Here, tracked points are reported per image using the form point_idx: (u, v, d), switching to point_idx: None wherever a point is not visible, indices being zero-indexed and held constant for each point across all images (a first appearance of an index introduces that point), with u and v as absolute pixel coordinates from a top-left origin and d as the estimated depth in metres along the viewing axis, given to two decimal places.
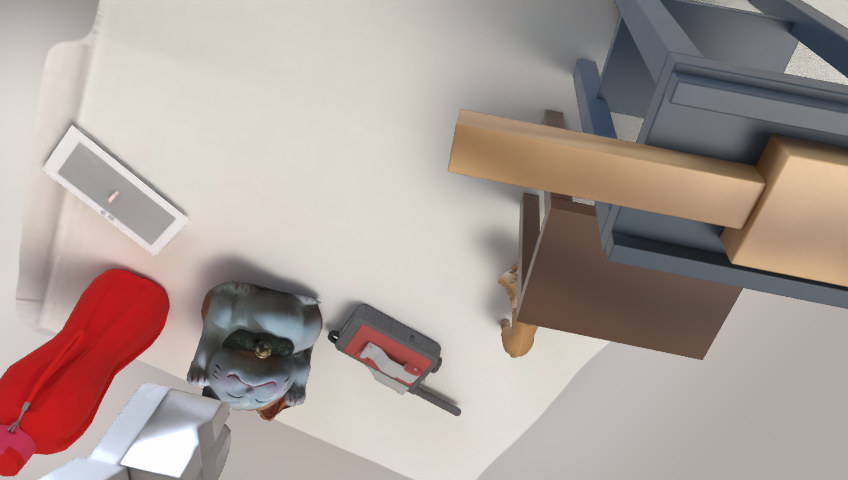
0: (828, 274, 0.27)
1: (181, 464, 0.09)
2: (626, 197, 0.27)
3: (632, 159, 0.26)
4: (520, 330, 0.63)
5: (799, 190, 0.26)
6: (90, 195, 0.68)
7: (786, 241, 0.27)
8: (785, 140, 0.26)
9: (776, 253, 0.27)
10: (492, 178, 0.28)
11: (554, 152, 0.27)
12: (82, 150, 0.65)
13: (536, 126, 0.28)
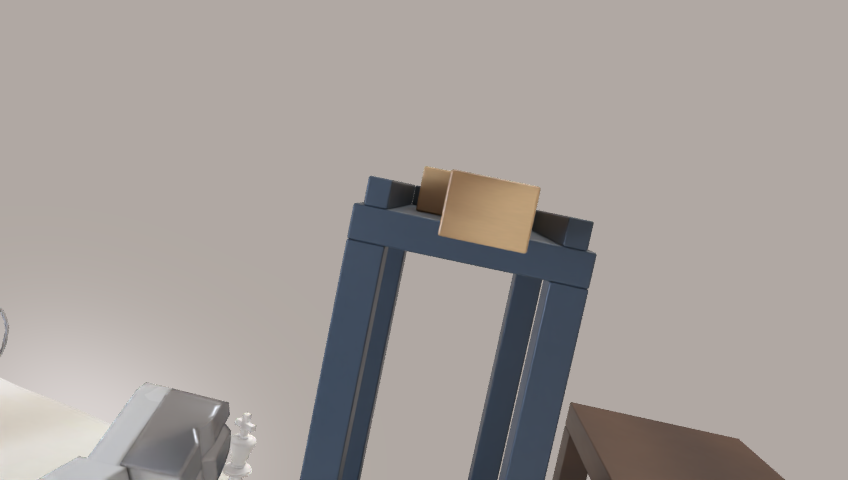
0: None
1: (181, 464, 0.09)
2: None
3: None
4: None
5: None
6: None
7: None
8: (418, 197, 0.30)
9: None
10: None
11: None
12: None
13: None
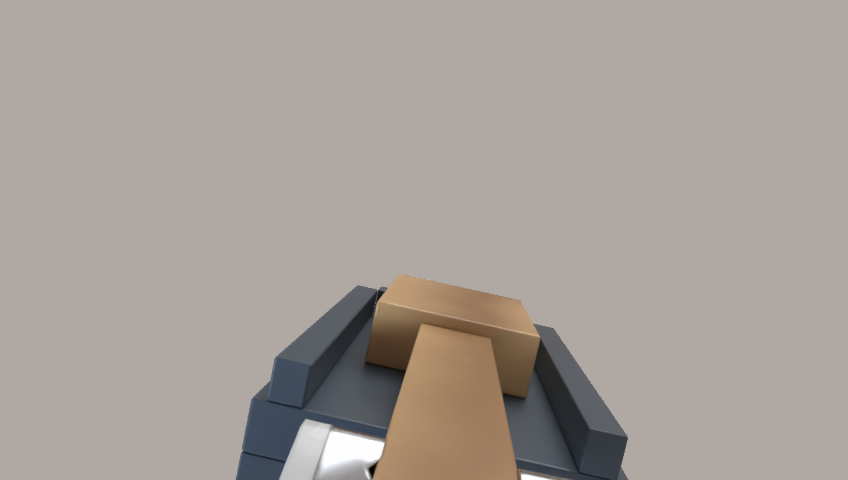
0: (515, 309, 0.24)
1: None
2: (481, 385, 0.15)
3: (408, 373, 0.15)
4: None
5: (421, 303, 0.22)
6: None
7: (488, 314, 0.22)
8: None
9: (507, 319, 0.22)
10: None
11: (412, 428, 0.11)
12: None
13: None
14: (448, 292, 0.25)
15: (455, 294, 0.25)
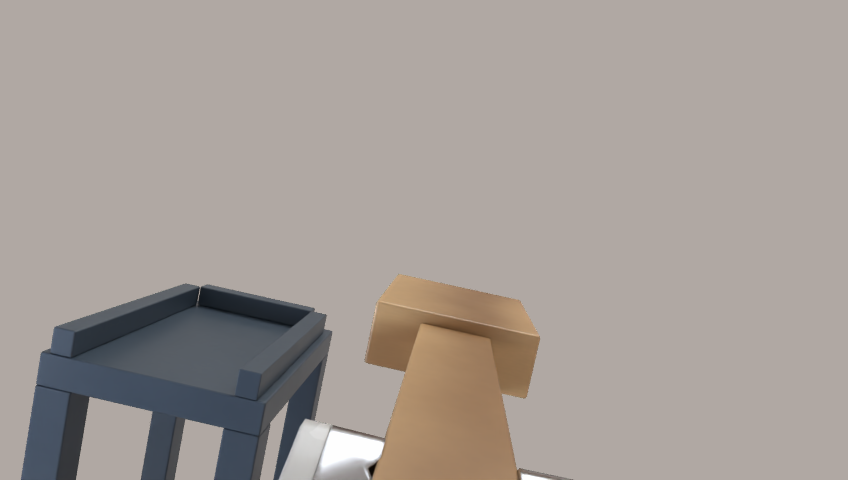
0: (515, 309, 0.24)
1: None
2: (481, 385, 0.15)
3: (408, 373, 0.15)
4: None
5: (420, 303, 0.22)
6: None
7: (488, 315, 0.22)
8: (369, 342, 0.21)
9: (507, 320, 0.22)
10: None
11: (412, 428, 0.11)
12: None
13: None
14: (448, 292, 0.25)
15: (455, 294, 0.25)
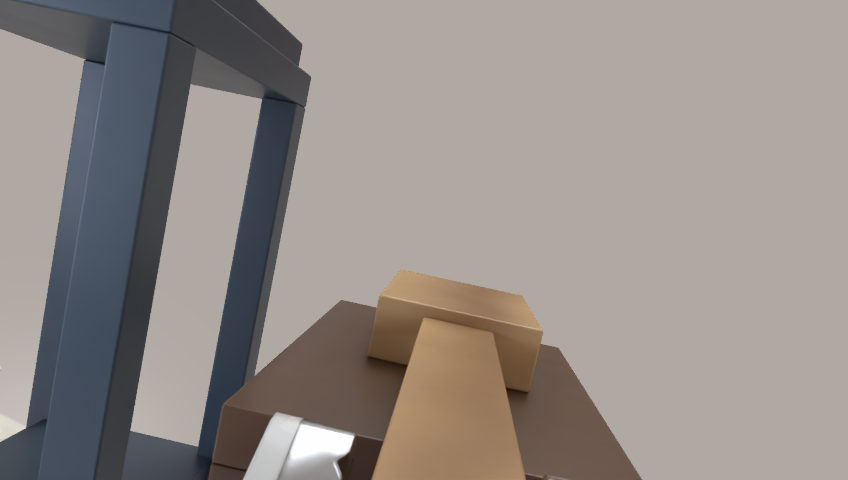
0: (518, 304, 0.24)
1: None
2: (485, 376, 0.15)
3: (411, 364, 0.15)
4: None
5: (423, 298, 0.22)
6: None
7: (491, 309, 0.22)
8: (371, 336, 0.21)
9: (510, 314, 0.22)
10: None
11: (415, 417, 0.11)
12: None
13: None
14: (450, 287, 0.25)
15: (457, 289, 0.25)
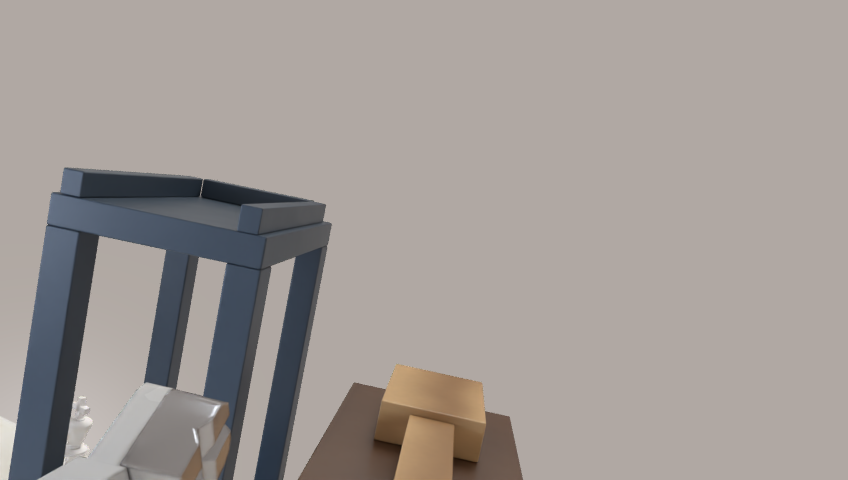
0: (476, 395, 0.36)
1: (181, 464, 0.09)
2: (441, 468, 0.26)
3: (399, 462, 0.26)
4: None
5: (410, 398, 0.33)
6: None
7: (455, 404, 0.34)
8: (376, 425, 0.32)
9: (467, 408, 0.33)
10: None
11: None
12: None
13: None
14: (430, 381, 0.37)
15: (435, 383, 0.37)
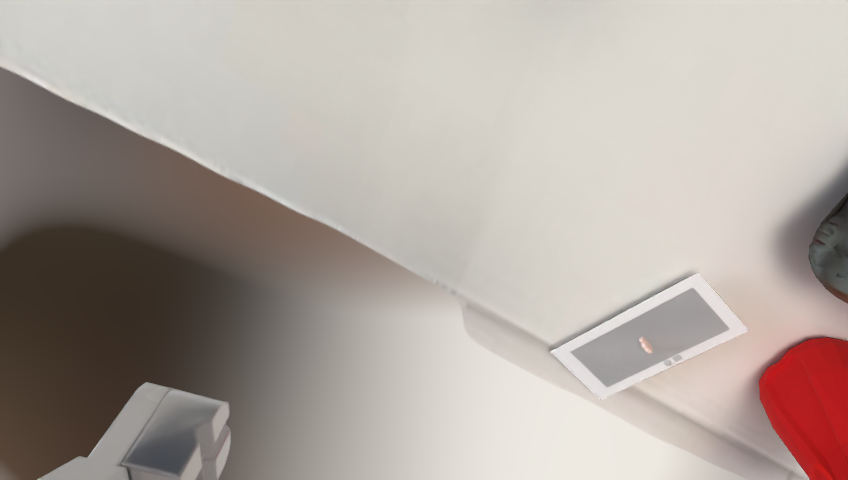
0: None
1: (181, 464, 0.09)
2: None
3: None
4: None
5: None
6: (642, 367, 0.56)
7: None
8: None
9: None
10: None
11: None
12: (581, 352, 0.56)
13: None
14: None
15: None
